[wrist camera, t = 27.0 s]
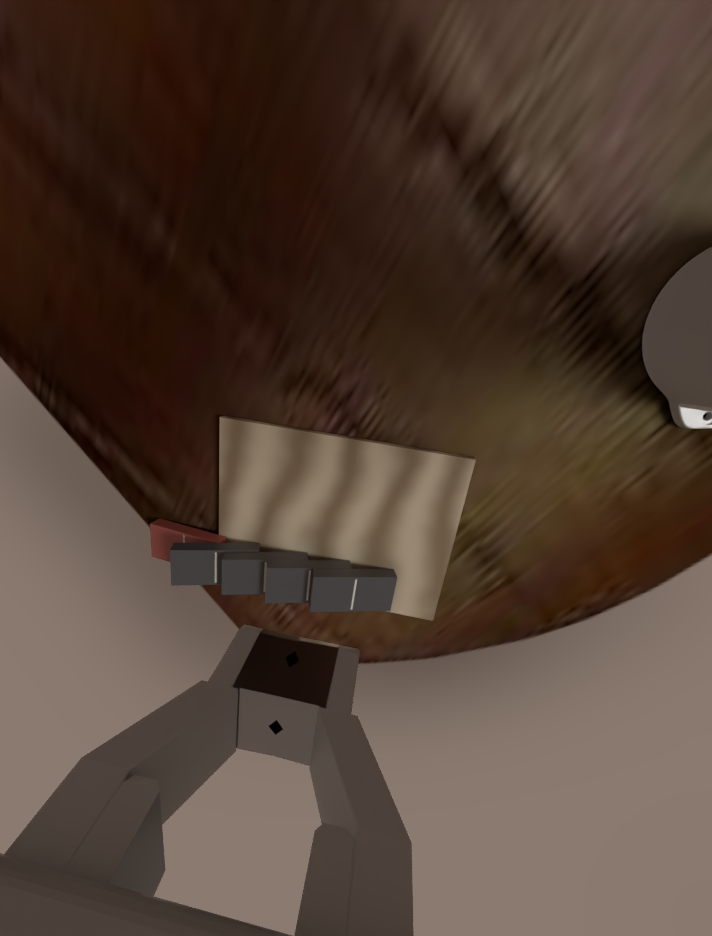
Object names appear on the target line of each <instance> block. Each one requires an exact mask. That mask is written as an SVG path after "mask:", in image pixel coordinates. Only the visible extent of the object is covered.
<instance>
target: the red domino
mask: <svg viewBox="0 0 712 936" xmlns="http://www.w3.org/2000/svg"><path fill="white" fill-rule="evenodd" d="M150 531H151V548H152V556H153V557H156V558H159V559H162V560H166V561H169V562H170V549H171V547H172V545H173V543H226V537H225V536H221V535H218V534H214V533H210V532H207V531H203V530H200V529H196V528H192V527H189V526H185V525H182V524H178V523H175V522H171V521H167V520H164V519H160V518H159V519H157V520H156V521H154V522H152V523H150Z"/></svg>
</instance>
